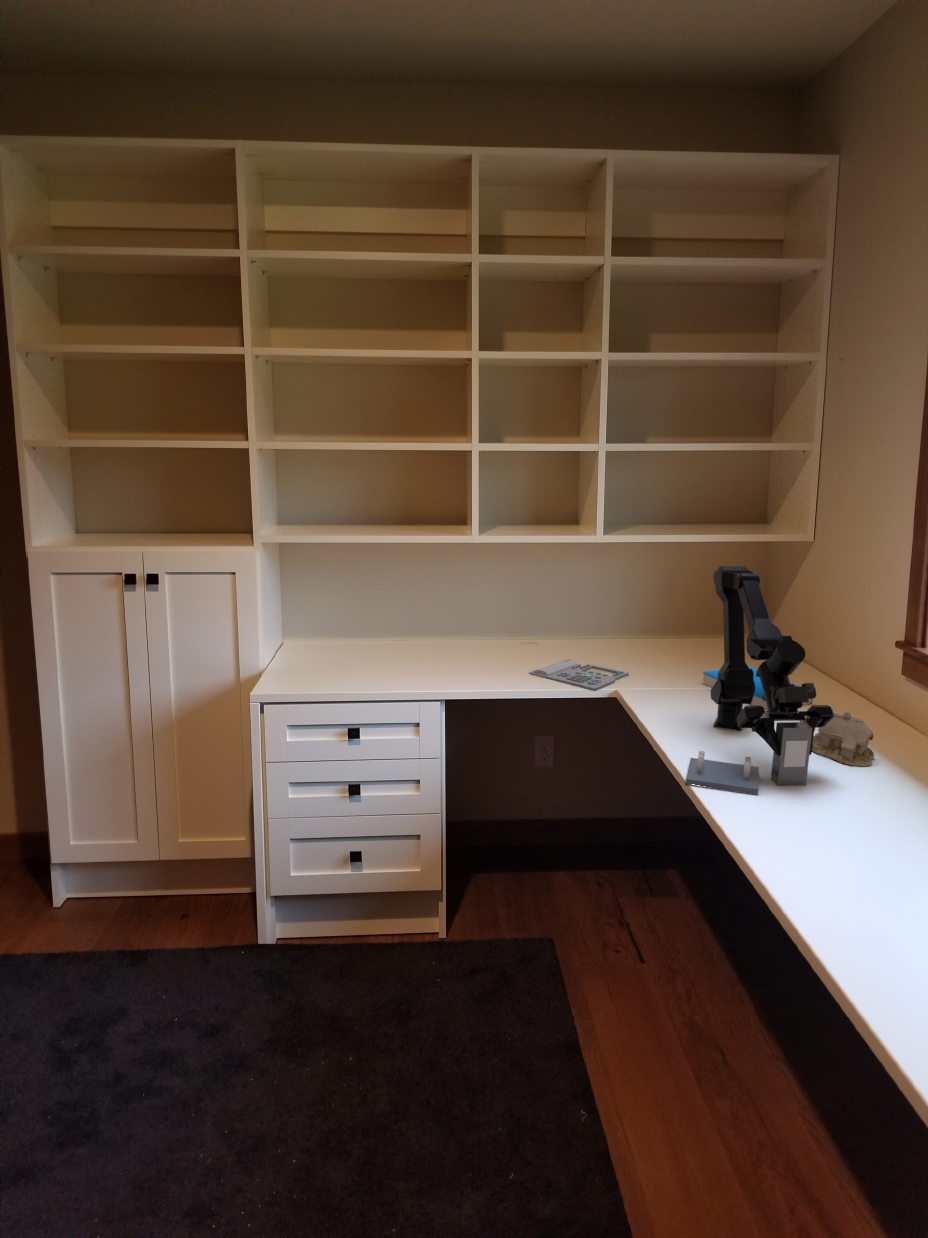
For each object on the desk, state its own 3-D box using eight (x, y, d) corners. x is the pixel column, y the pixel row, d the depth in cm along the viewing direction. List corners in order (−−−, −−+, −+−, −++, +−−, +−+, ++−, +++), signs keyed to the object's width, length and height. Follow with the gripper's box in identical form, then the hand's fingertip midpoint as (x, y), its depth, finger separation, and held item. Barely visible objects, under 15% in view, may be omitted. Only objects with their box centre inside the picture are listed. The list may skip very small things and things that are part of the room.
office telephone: (528, 668, 245) (567, 654, 259) (527, 676, 245) (567, 662, 260) (595, 683, 229) (633, 668, 244) (594, 692, 230) (632, 677, 245)
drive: (770, 779, 174) (776, 722, 171) (798, 778, 174) (805, 722, 171) (777, 786, 170) (784, 728, 167) (806, 785, 171) (813, 728, 168)
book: (763, 698, 215) (702, 670, 238) (762, 713, 216) (700, 685, 239) (814, 690, 221) (750, 664, 244) (812, 706, 222) (748, 678, 245)
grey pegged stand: (690, 762, 182) (691, 742, 180) (758, 772, 177) (760, 751, 176) (685, 784, 170) (687, 763, 169) (757, 795, 166) (760, 773, 165)
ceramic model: (882, 757, 187) (888, 714, 185) (865, 771, 179) (871, 727, 177) (819, 740, 196) (824, 699, 194) (800, 753, 188) (804, 711, 186)
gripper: (746, 668, 170) (764, 739, 162) (835, 668, 171) (857, 738, 163) (729, 693, 180) (744, 761, 171) (813, 692, 181) (832, 760, 173)
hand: (794, 754), depth 169 cm, fingers closed on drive, 6 cm apart
